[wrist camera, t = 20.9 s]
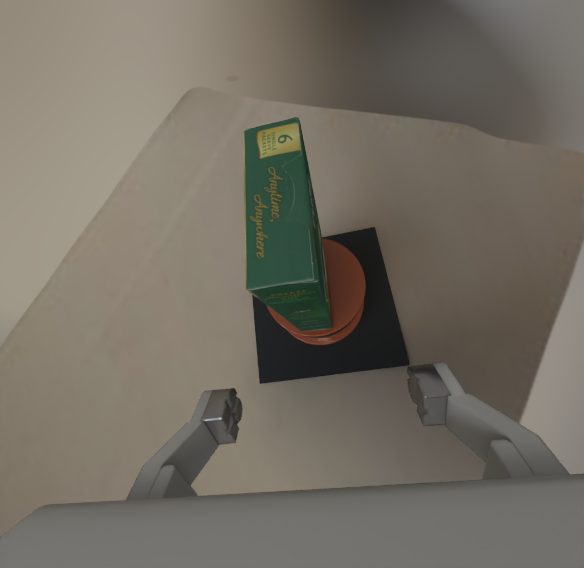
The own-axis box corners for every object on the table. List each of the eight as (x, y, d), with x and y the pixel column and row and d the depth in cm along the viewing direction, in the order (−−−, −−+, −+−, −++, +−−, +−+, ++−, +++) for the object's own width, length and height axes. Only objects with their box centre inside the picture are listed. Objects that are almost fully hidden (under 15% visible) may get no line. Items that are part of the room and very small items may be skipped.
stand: (353, 255, 30) (357, 223, 23) (372, 338, 27) (382, 332, 20) (274, 270, 31) (254, 245, 24) (283, 351, 29) (264, 349, 22)
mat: (374, 228, 31) (374, 226, 31) (408, 364, 26) (409, 364, 26) (250, 253, 33) (248, 252, 33) (261, 383, 29) (259, 383, 28)
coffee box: (292, 245, 24) (238, 122, 11) (323, 240, 23) (302, 107, 11) (299, 332, 21) (240, 299, 9) (333, 329, 21) (321, 289, 8)
